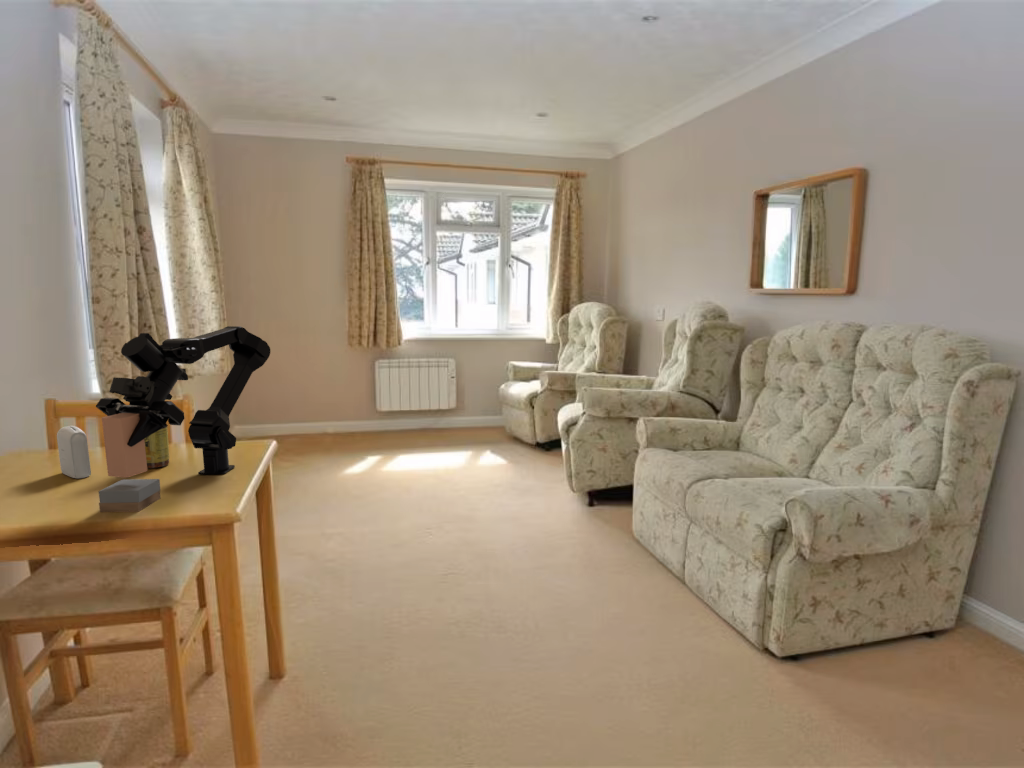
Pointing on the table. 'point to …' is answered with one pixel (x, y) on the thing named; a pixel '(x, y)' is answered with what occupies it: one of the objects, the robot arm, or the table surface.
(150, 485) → the slate slab
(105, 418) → the terracotta pillar
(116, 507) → the walnut slab
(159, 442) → the sauce bottle
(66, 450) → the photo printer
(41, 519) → the table surface
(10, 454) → the table surface
